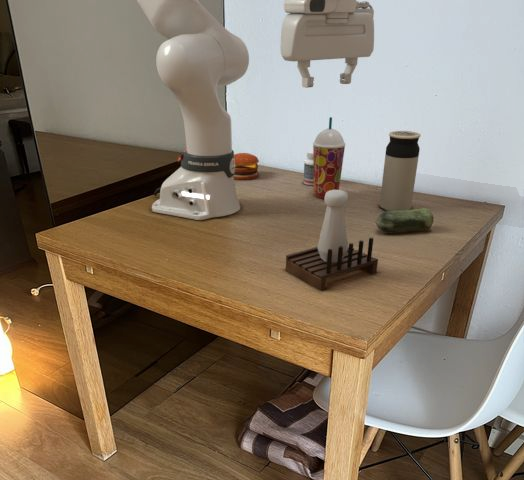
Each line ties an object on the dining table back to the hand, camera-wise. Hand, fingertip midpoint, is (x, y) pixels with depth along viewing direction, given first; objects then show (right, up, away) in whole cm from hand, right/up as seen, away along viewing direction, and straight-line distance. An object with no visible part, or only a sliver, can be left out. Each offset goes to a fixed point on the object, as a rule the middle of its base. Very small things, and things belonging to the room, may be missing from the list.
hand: (326, 85), depth 106 cm
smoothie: (+5, -10, +43) cm, 44 cm away
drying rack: (+1, -36, +1) cm, 36 cm away
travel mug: (+22, -15, +34) cm, 43 cm away
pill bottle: (+2, -3, +53) cm, 53 cm away
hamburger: (-18, +1, +60) cm, 63 cm away
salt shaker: (+1, -34, -1) cm, 34 cm away
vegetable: (+20, -24, +20) cm, 37 cm away
